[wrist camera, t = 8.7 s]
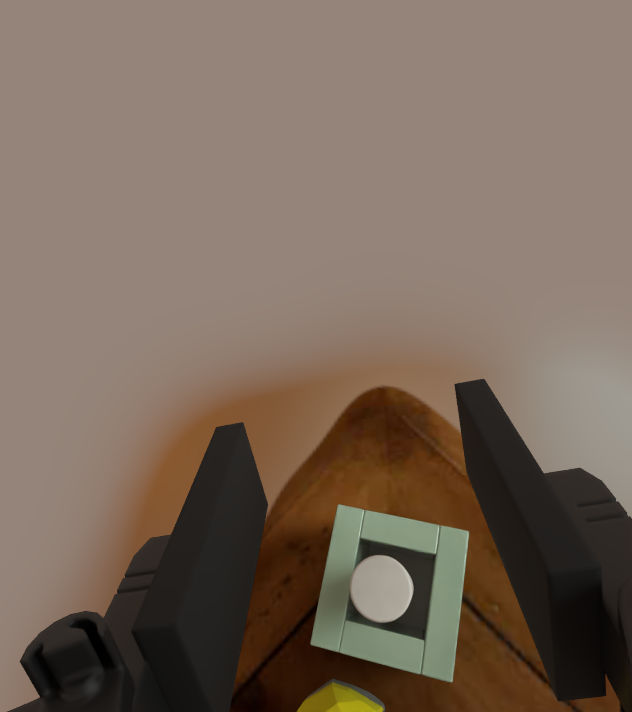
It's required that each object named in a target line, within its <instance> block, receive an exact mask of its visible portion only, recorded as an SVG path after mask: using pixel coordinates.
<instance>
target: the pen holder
mask: <svg viewBox="0 0 632 712" xmlns="http://www.w3.org/2000/svg"><path fill="white" fill-rule="evenodd" d="M468 540H469V532H468V531H466V530H461V529H456V528H452V527H447V526H439V525H437V524H432V523H427V522H423V521H418V520H413V519H408V518H403V517H398V516H393V515H388V514H384V513H379V512H374V511H369V510H365V511H364V510H363V509H359V508H354V507H349V506H345V505H340V504H339V505H338V506H337V510H336V515H335V520H334V525H333V531H332V536H331V541H330V546H329V551H328V556H327V561H326V566H325V571H324V576H323V581H322V586H321V591H320V596H319V601H318V607H317V612H316V617H315V622H314V627H313V632H312V637H311V642H310V644H311V645H312V646H316V647H320V648H323V649H327V650H331V651H335V652H340V653H342V654H345V655H349V656H353V657H356V658H360V659H364V660H367V661H371V662H375V663H378V664H382V665H386V666H389V667H393V668H397V669H400V670H404V671H408V672H412V673H415V674H422V675H423V676H427V677H430V678H434V679H438V680H441V681H445V682H449V683H452V681H453V675H454V666H455V657H456V648H457V639H458V630H459V621H460V612H461V603H462V594H463V585H464V576H465V567H466V558H467V549H468ZM375 555H384V556H388V557H391V558H393V559H395V560H397V561H398V562H399V563H400V564H401V565H402V566H403V567H404V568H405V569H406V571H407V572H408V574H409V575H410V577H411V578H412V581H413V585H414V592H413V595H412V598H411V601H410V604H409V606H408V608H407V609H406V611H405V612H404V613H403V614H402V615H401V616H400V617H399V618H397V619H396V620H393V621H391V622H386V623H379V622H374V621H371V620H369V619H367V618H366V617H364V616H363V615H362V614H361V613H360V612H359V611H358V610H357V609H356V607H355V606H354V604H353V602H352V599H351V595H350V580H351V576H352V573H353V571H354V569H355V568H356V567H357V565H358V564H359V563H360V562H361V561H363V560H364V559H366V558H368V557H371V556H375Z"/></svg>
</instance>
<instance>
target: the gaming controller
mask: <svg viewBox="0 0 632 712" xmlns="http://www.w3.org/2000/svg"><path fill="white" fill-rule="evenodd" d="M297 712H385V706H384V704H383V703H382V702H381V701H380V700H379V699H378V698H377V697H375V696H374V695H372V694H371V693H369V692H368V691H365V690H363V689H361V688H359V687H356V686H354V685H352V684H349V683H346V682H342V681H339V680H336V679H331V680H330V681H328V682H327V683H326V684H324V685H323V686H321V687H320V688H318V689H317V690H316V691H314V692H313V693H311V694H310V695H309V696H308V697H307V698H306V699H305V701H304V702H303V703H302V705H301V706H300V707H299V709H298V710H297Z"/></svg>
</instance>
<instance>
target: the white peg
mask: <svg viewBox="0 0 632 712" xmlns="http://www.w3.org/2000/svg"><path fill="white" fill-rule="evenodd" d="M413 592H414V585H413V581H412V578H411V577H410V575H409V574H408V572H407V571H406V569H405V568H404V567H403V566H402V565H401V564H400V563H399V562H398V561H397V560H395V559H393V558H391V557H388V556H384V555H375V556H371V557H368V558H366V559H364V560H363V561H361V562H360V563H359V564H358V565H357V567H356V568H355V569H354V571H353V573H352V576H351V580H350V595H351V599H352V602H353V604H354V606H355V607H356V609H357V610H358V611H359V612H360V613H361V614H362V615H363V616H364V617H366V618H367V619H369V620H371V621H374V622H379V623H386V622H391V621H393V620H396V619H397V618H399V617H400V616H401V615H402V614H403V613H404V612H405V611H406V609H407V608H408V606H409V604H410V601H411V598H412V595H413Z"/></svg>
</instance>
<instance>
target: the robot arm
mask: <svg viewBox="0 0 632 712" xmlns="http://www.w3.org/2000/svg"><path fill="white" fill-rule="evenodd" d="M455 391H456V398H457V405H458V412H459V419H460V427H461V434H462V441H463V449H464V456H465V463H466V470H467V474H468V477H469V479H470V482H471V484H472V487H473V489H474V492H475V494H476V497H477V499H478V502H479V504H480V507H481V509H482V512H483V514H484V517H485V519H486V522H487V524H488V527H489V529H490V532H491V534H492V537H493V539H494V542H495V544H496V547H497V550H498V552H499V555H500V557H501V560H502V562H503V565H504V567H505V570H506V572H507V575H508V577H509V580H510V582H511V585H512V587H513V590H514V592H515V595H516V597H517V600H518V602H519V605H520V607H521V610H522V612H523V615H524V617H525V620H526V622H527V625H528V627H529V630H530V633H531V635H532V638H533V640H534V643H535V645H536V648H537V650H538V653H539V655H540V658H541V660H542V663H543V665H544V668H545V670H546V673H547V675H548V678H549V680H550V683H551V685H552V688H553V690H554V693H555V695H556V698H557V700H558V701H566V700H575V699H584V698H593V697H601V696H606V680H605V673H606V675H607V677H608V679H609V681H610V683H611V685H612V687H613V689H614V691H615V693H616V695H617V697H618V699H619V701H620V712H632V518H631V517H628V515H627V512H626V511H625V510H624V508H623V507H622V506H621V505H620V503H619V502H616V498H615V497H614V496H613V494H612V493H611V492H610V490H609V489H608V488H607V487H606V485H605V484H604V483H603V482H602V481H601V480H600V479H598V478H596V477H595V476H593V475H591V474H590V473H588V472H586V471H584V470H583V469H581V468H575V469H569V470H563V471H557V472H550V473H545V474H544V473H543V471H542V470H541V468H540V467H539V465H538V464H537V462H536V460H535V459H534V458H533V456H532V454H531V452H530V451H529V449H528V448H527V446H526V445H525V443H524V441H523V440H522V438H521V437H520V435H519V434H518V432H517V430H516V429H515V427H514V426H513V424H512V423H511V421H510V419H509V417H508V416H507V414H506V413H505V411H504V409H503V408H502V406H501V405H500V403H499V401H498V400H497V398H496V397H495V395H494V394H493V392H492V391H491V389H490V387H489V386H488V384H487V382H486V381H485V380H484V379H480V380H475V381H469V382H463V383H458V384H455ZM267 507H268V503H267V500H266V496H265V493H264V490H263V486H262V483H261V480H260V477H259V473H258V470H257V467H256V463H255V460H254V457H253V453H252V450H251V447H250V443H249V440H248V437H247V434H246V430H245V427H244V424H243V422H242V423H236V424H231V425H225V426H220V427H216V429H215V431H214V434H213V436H212V439H211V441H210V443H209V446H208V448H207V451H206V453H205V455H204V458H203V460H202V462H201V465H200V467H199V470H198V472H197V475H196V477H195V479H194V482H193V484H192V486H191V489H190V491H189V493H188V496H187V498H186V501H185V503H184V506H183V508H182V510H181V513H180V515H179V517H178V520H177V522H176V524H175V527H174V530H173V532H172V534H171V535H166V536H160V537H153V538H150V539H149V540H148V541H147V542H146V544H145V545H144V546H143V547H142V548H141V549H140V550H139V551H138V552H137V553H136V554H135V555H134V557H133V559H132V561H131V563H130V565H129V567H128V569H127V571H126V573H125V578H123V579H122V581H121V584H120V586H119V588H118V590H117V594H116V595H115V596H114V598H113V600H112V602H111V604H110V606H109V608H108V610H107V612H106V614H105V617H104V618H102V617H101V616H100V615H99V614H98V613H95V612H88V611H84V612H79V613H74V614H70V615H68V616H66V617H64V618H62V619H60V620H58V621H56V622H54V623H53V624H51V625H50V626H49V627H47V628H46V629H45V630H43V631H42V632H41V633H39V634H38V636H37V637H36V638H35V639H34V640H33V641H32V642H31V644H30V645H29V646H28V647H27V648H26V650H25V653H24V654H23V656H22V658H21V660H20V663H21V665H22V666H23V668H24V670H25V671H26V673H27V675H28V676H29V678H30V680H31V682H32V684H33V685H34V687H35V689H36V691H37V692H38V694H39V696H40V698H38V699H36V700H34V701H32V702H29V703H27V704H24V705H22V706H20V707H17V708H15V709H13V710H10V711H8V712H229V711H230V705H231V700H232V695H233V689H234V684H235V678H236V673H237V668H238V662H239V657H240V652H241V646H242V641H243V636H244V630H245V625H246V620H247V614H248V609H249V603H250V598H251V593H252V587H253V582H254V577H255V571H256V566H257V561H258V555H259V550H260V545H261V539H262V534H263V528H264V523H265V518H266V512H267Z"/></svg>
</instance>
